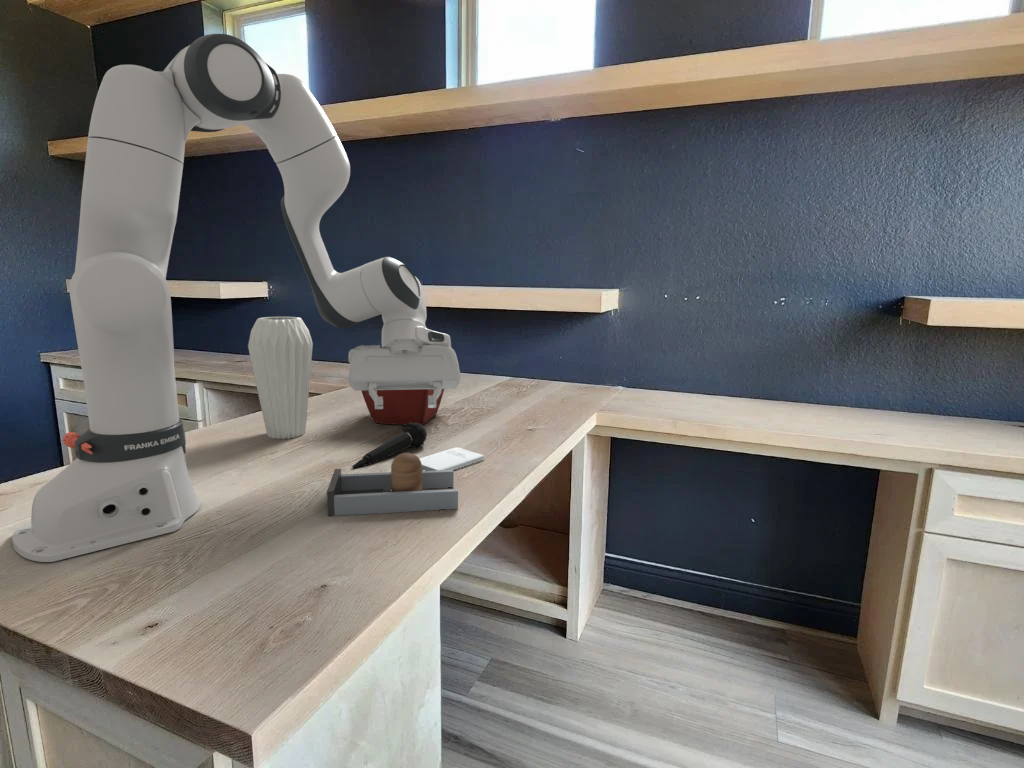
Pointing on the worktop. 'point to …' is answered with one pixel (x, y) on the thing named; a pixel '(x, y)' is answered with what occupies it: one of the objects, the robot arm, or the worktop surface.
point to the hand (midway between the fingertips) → (405, 407)
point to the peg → (406, 473)
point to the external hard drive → (449, 459)
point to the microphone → (396, 444)
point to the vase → (282, 373)
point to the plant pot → (402, 406)
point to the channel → (388, 493)
